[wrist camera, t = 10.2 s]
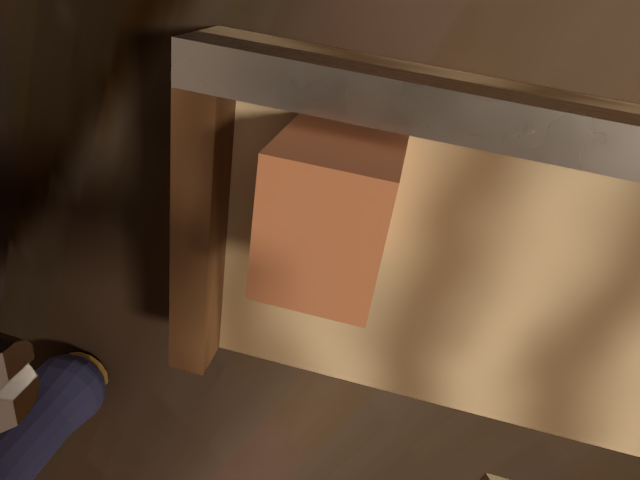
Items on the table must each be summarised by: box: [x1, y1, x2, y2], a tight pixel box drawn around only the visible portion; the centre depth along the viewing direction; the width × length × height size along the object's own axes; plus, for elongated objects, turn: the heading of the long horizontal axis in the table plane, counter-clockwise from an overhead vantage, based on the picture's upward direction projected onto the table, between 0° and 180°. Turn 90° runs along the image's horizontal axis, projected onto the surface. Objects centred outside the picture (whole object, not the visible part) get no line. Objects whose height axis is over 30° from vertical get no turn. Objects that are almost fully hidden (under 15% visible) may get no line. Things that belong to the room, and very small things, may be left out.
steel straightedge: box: [171, 31, 640, 183], centre depth 17 cm, size 22×2×2 cm, turn 82°
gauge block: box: [245, 113, 409, 328], centre depth 18 cm, size 4×5×5 cm
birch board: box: [169, 26, 640, 457], centre depth 21 cm, size 22×14×4 cm, turn 82°
